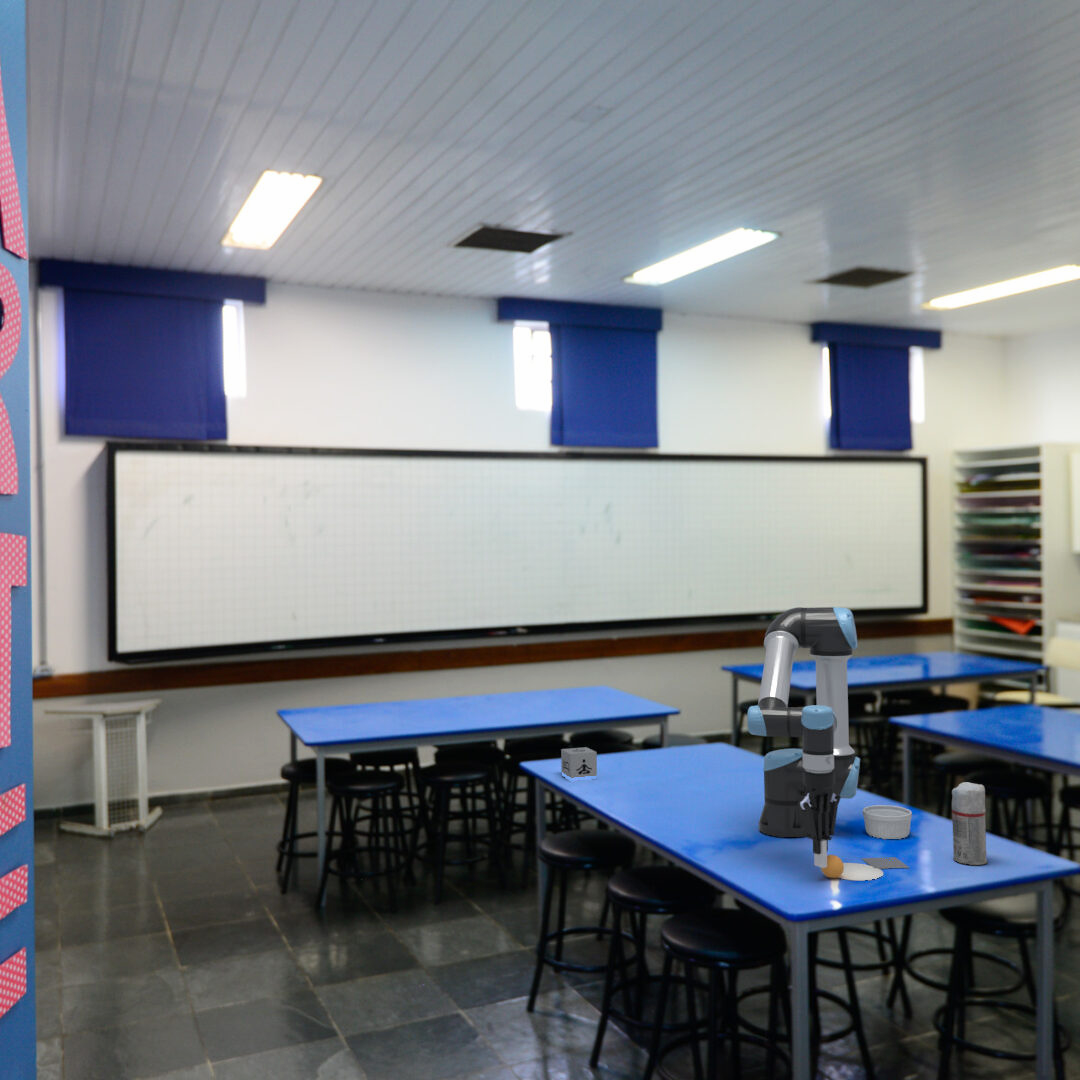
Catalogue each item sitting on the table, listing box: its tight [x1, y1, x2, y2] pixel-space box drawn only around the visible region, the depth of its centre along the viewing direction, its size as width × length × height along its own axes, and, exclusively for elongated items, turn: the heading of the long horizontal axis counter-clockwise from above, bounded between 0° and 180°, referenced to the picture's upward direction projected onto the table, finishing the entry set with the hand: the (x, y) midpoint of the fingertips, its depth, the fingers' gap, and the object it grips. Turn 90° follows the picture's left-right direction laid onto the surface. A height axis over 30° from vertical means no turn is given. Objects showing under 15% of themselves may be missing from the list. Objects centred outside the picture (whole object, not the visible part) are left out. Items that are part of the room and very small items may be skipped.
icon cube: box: [560, 746, 598, 778], centre depth 369 cm, size 10×10×10 cm
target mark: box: [837, 862, 884, 882], centre depth 254 cm, size 14×14×1 cm
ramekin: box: [862, 804, 913, 840], centre depth 288 cm, size 13×13×7 cm
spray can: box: [951, 781, 988, 866], centre depth 262 cm, size 8×8×20 cm
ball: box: [820, 854, 844, 879], centre depth 250 cm, size 6×6×6 cm
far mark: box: [861, 856, 910, 870], centre depth 261 cm, size 9×9×1 cm
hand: (820, 866), depth 248 cm, fingers closed
